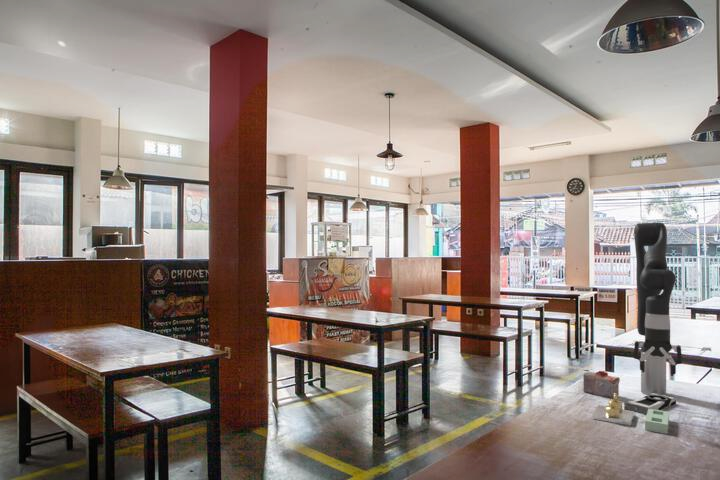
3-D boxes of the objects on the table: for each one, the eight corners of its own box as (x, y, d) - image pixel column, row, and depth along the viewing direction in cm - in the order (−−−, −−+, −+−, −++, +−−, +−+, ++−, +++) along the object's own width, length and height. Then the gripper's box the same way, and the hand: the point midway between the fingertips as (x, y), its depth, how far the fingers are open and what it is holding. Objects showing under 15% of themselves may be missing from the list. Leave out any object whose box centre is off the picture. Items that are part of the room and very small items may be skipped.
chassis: (598, 409, 187) (598, 389, 187) (634, 415, 181) (634, 394, 181) (592, 418, 176) (592, 397, 176) (630, 425, 169) (630, 404, 170)
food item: (622, 396, 205) (622, 372, 205) (614, 400, 199) (614, 375, 199) (588, 389, 215) (589, 366, 215) (580, 392, 209) (580, 369, 210)
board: (648, 416, 179) (648, 408, 179) (669, 420, 176) (669, 411, 176) (645, 429, 166) (645, 420, 166) (667, 433, 162) (667, 424, 163)
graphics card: (624, 402, 187) (652, 391, 203) (624, 411, 187) (652, 399, 203) (652, 409, 179) (679, 397, 195) (652, 418, 179) (679, 405, 195)
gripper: (682, 327, 171) (682, 374, 170) (635, 323, 179) (635, 368, 178) (681, 330, 165) (681, 379, 164) (633, 326, 172) (633, 372, 172)
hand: (657, 373), depth 171 cm, fingers open, 8 cm apart
